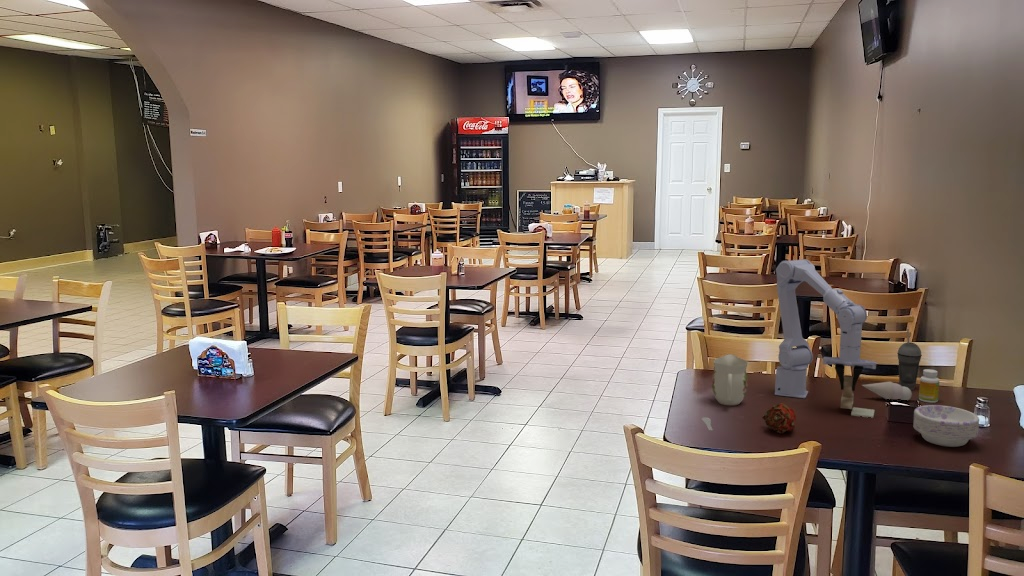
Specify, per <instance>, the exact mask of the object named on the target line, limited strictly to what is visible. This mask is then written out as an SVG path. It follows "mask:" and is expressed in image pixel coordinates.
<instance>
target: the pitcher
mask: <svg viewBox="0 0 1024 576" xmlns="http://www.w3.org/2000/svg"><path fill="white" fill-rule="evenodd" d="M712 361H713V367H714V370H713V372H712V375H711V386H712V387H711V388H712V392H713V395H714V398H715V400H716V401H717V402H718V403H719V404H721V405H724V406H738V405H740V403H742V401H743V400H744V398H745V396H746V394H747V390H748V385H749V377H748V373H747V366H748V361H747V360H745V359H743V358H740V357H738V356H736V355H735V354H731V353H729V354H725V355H723V356H720V357H716V358H715V359H714V360H712Z"/></svg>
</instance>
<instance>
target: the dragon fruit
mask: <svg viewBox="0 0 1024 576" xmlns="http://www.w3.org/2000/svg"><path fill="white" fill-rule="evenodd" d="M761 418H762V420H763V421H764V423H765V425H766V426H767V428H769V429H770V430H772V431H775V432H776V433H779V434H784V433H786V431H787V432H792V431H794V429H795V423H796V421H797V414H796V411H795V410H794V409H793V408H791V407H789V405H787V404H786V403H784V402H781V403H779V404H775V405H772V406H771V407H769V408H768V410H766V412H765V414H763V415H762V416H761Z"/></svg>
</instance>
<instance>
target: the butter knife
mask: <svg viewBox="0 0 1024 576" xmlns="http://www.w3.org/2000/svg"><path fill="white" fill-rule="evenodd" d="M701 421H702V422H703V423H704V424H705V426H706V427H707V430H708V431H714V429H713V427H712V425H711V424H712V423H711V422H712V420H711V418H710V417H701Z"/></svg>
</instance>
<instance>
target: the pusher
mask: <svg viewBox="0 0 1024 576" xmlns="http://www.w3.org/2000/svg"><path fill="white" fill-rule="evenodd" d="M852 384H853V375H850V374H849V375H847V374H844V388H843V390H842V394H841V397H840V409H849V410H852V409H853V405H854V398H855V397H854V394H855V393H854V392H853V391H852Z"/></svg>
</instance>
